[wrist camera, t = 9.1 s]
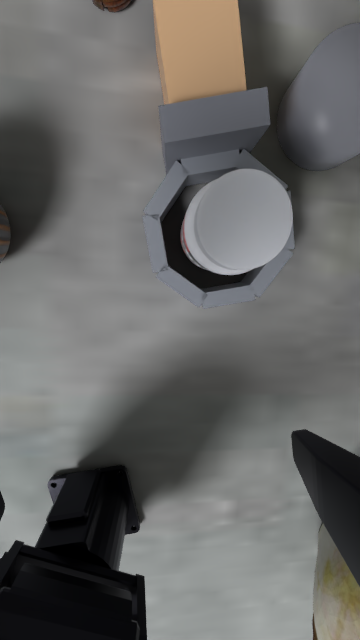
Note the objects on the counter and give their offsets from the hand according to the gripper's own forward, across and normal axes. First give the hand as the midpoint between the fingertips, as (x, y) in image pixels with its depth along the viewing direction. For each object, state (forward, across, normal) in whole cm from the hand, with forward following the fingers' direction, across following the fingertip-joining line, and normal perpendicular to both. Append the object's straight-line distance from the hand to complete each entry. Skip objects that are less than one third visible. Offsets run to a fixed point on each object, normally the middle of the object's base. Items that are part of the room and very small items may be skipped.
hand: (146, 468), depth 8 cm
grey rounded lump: (+13, -13, -13) cm, 23 cm away
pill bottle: (+13, -5, -7) cm, 16 cm away
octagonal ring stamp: (+13, -5, -10) cm, 17 cm away
